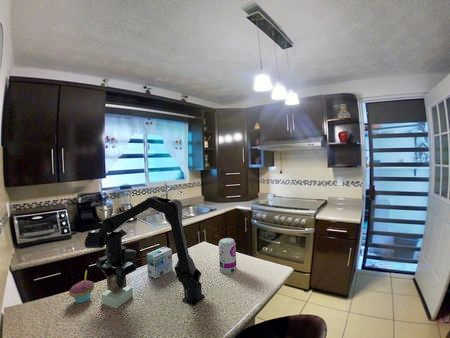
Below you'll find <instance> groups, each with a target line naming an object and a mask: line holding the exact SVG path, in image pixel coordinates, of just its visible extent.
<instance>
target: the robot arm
mask: <svg viewBox="0 0 450 338" xmlns="http://www.w3.org/2000/svg"><path fill="white" fill-rule="evenodd" d="M149 209H154V210H155V211H156V212H159V213H162V214H164V218H165V219H166V221H167V223H168V224H169V225H170V228H171V234H172V239H173V242H174V246H175V252H176V255H177V256H176V257H177V263H176V264H175V266H174V267H173V270H174V272H175V278H176V279H177V281H179V283H180V284H181V285H182V287H183V296H184V297H182V299H181V301H182V302H184V303H187V304H189V305H192V306H196V305H197V304H198V303H199V302H200V301H201V300H203V299H204V298H205V294H203V291H202V290H203V288H202V283H201V281H200V280H201V276H202V272H201V271H200V270H199V269H198V268H197V267H196V265H195V262H194V259H193V258H192V257H191V255H190V252H189V248H188V244H187V238H186V235H185V230H184V224H183V219H182V218H183V203H182V202H181V201H180V200H179V199H177V198H174V199H170V198H166V197H160V196H156V195H151V196H149V197H147V198H146V199H145V200H143V201H141V202H140V203H137V204H135V205H134V206H132V207H131V208H129V209H127V210H125V211H123V212H118V213H116V214H114V215H111V216H109V217H107V218H105V219H103V221H102V222H101V226H100V228H99V230H89V231H87V235H86V237H85V240H84V242H83V244H84V247H85V248H86V249H103V248H104V247H105V251H103V252H104V253H103V254H104V256H101V257H99V258H97V260H96V261H95V266H96V267H97V268H100V270H101V271H102V273H103V274H104V275H105V276H106V278H107V277H108V276H110V275H112V274H113V275H114V277H115V279H116V282H117V284H118V286H119V288H121V287H122V286H123V283H124V279H125V276H126V277H127V275H129V274H131V273H133V272H135V271H136V270H137V264H136V263H133V262H131V261H128V260H129V259H130V260H135V259H136V255H137V250H134V249H131V248H129V247H128V246H126V245H125V246H124V245H123V239H122V238H123V237H125V236H126V235H127V234H128V233H127V232H126V231H125V230H124V229H120V228H122V227H123V226H124V225H125V224H126V223H127V222H129V220H131V219H133V218H135V217H136V216H138V215H140V214H141V213H143V212H146V211H147V210H149ZM118 229H120V230H119V231H117V230H118ZM126 261H127V262H126Z"/></svg>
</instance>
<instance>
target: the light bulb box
mask: <svg viewBox="0 0 450 338" xmlns="http://www.w3.org/2000/svg"><path fill="white" fill-rule="evenodd" d="M146 265H147V266H146V268H147V269H146V270H147V276H149V277H150V278H152V277H153V279H154V278H155V279H154V280H156V278H157V279H159V278H160V277H162V276H164V275H166V274H168V273H170V272H172V271H174V267H173V249H172V248H169V247H167V246H162V247H160V248H158V249H155V250H152V251H151V252H150V251H149V252H147V253H146Z"/></svg>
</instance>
